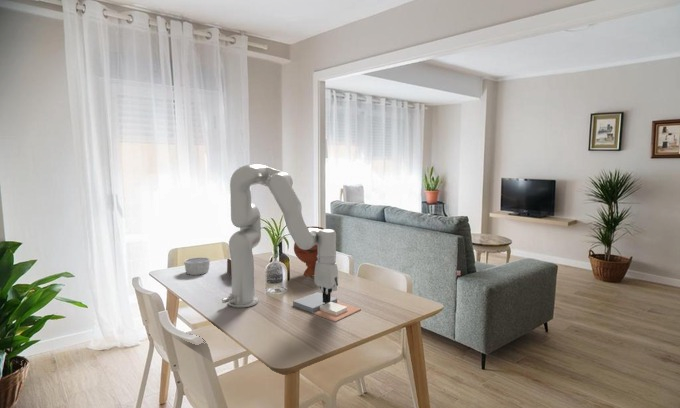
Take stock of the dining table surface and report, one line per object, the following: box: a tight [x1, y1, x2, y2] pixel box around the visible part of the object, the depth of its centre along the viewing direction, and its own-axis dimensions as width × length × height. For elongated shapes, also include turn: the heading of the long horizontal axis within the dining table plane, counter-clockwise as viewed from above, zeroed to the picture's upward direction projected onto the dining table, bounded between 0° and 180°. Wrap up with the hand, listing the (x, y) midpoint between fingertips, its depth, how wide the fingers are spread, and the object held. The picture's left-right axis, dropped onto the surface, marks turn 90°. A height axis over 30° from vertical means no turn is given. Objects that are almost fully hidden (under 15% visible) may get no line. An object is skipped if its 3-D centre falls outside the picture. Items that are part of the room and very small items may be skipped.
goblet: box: [293, 226, 325, 277], centre depth 209 cm, size 19×19×25 cm
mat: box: [312, 301, 362, 323], centre depth 158 cm, size 16×12×1 cm
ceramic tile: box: [320, 302, 348, 316], centre depth 159 cm, size 7×9×2 cm
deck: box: [292, 291, 338, 314], centre depth 166 cm, size 15×12×2 cm
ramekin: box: [183, 256, 211, 276], centre depth 211 cm, size 13×13×7 cm
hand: (326, 301), depth 162 cm, fingers closed
